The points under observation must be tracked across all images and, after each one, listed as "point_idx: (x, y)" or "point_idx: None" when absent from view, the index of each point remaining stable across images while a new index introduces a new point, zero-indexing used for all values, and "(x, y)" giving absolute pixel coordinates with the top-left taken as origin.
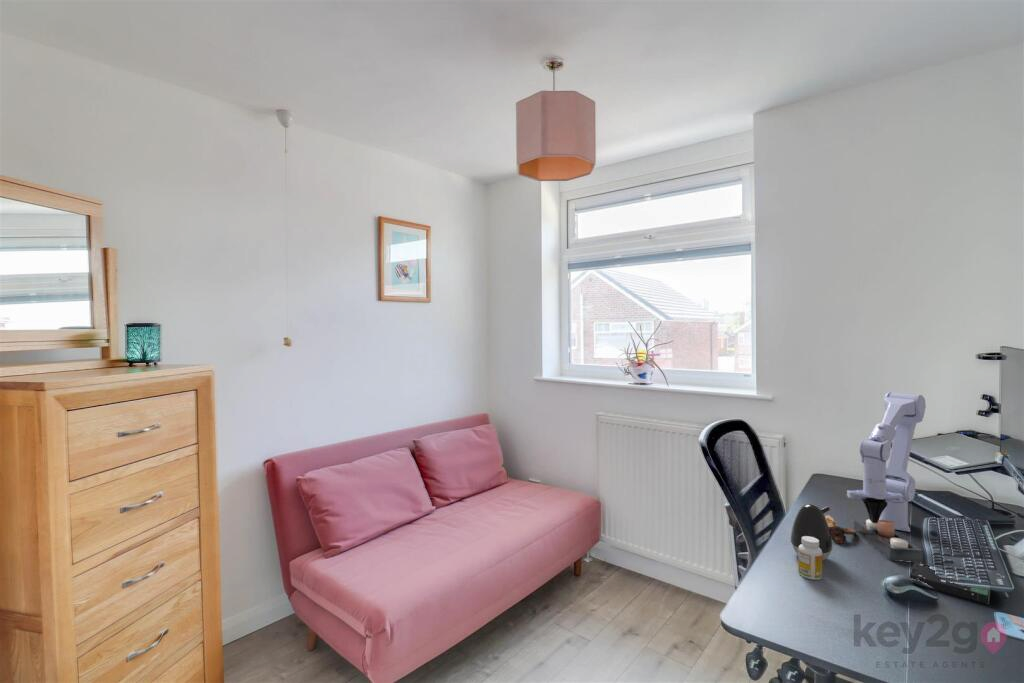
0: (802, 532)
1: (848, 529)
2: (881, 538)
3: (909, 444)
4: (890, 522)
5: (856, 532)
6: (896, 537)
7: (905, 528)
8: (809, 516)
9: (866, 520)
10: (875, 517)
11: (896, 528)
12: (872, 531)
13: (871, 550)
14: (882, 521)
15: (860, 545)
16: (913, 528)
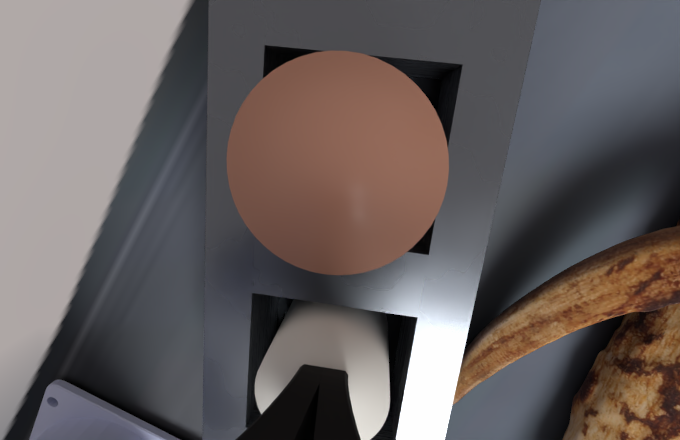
0: None
1: (657, 285)
2: (494, 4)
3: None
4: (268, 169)
5: (500, 317)
6: None
7: (63, 413)
8: None
9: (377, 427)
10: (325, 403)
11: (120, 415)
12: (457, 210)
13: (557, 25)
14: (370, 204)
15: (582, 129)
16: (14, 430)
